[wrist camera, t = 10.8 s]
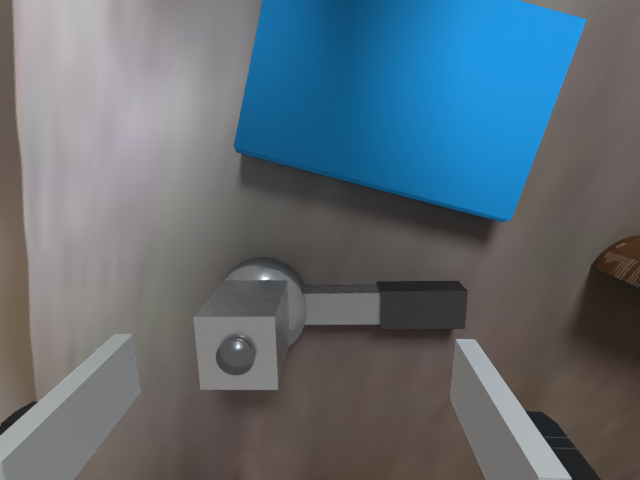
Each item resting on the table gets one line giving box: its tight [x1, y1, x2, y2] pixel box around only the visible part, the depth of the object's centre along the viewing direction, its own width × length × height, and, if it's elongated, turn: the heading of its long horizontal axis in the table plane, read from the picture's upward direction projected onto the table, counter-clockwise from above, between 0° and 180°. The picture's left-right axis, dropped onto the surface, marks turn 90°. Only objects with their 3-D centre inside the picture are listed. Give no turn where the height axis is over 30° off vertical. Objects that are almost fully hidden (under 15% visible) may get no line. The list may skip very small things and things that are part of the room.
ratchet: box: [224, 258, 467, 347], centre depth 37 cm, size 9×24×7 cm, turn 91°
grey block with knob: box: [193, 280, 290, 390], centre depth 33 cm, size 6×6×9 cm
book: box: [234, 0, 587, 222], centre depth 34 cm, size 17×4×25 cm
